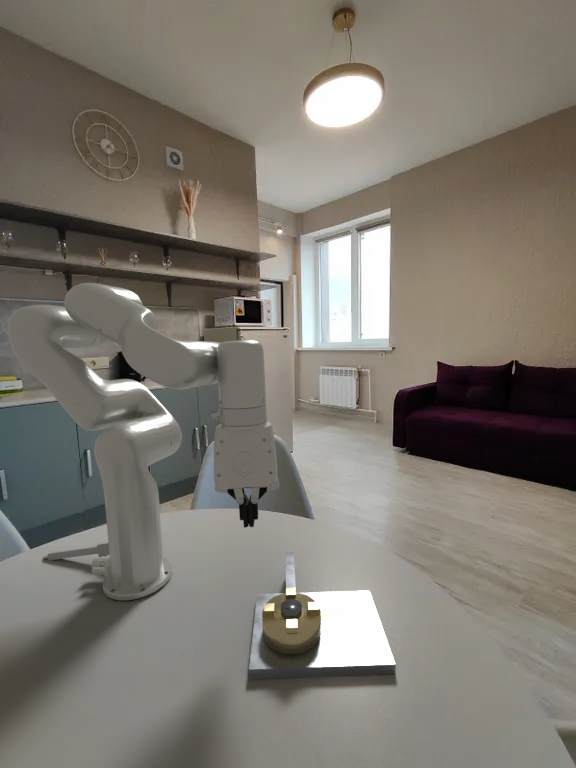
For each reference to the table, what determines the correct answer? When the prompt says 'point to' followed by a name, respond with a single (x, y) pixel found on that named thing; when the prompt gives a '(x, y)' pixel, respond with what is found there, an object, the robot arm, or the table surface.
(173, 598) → the table surface
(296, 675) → the base plate
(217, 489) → the robot arm
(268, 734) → the table surface
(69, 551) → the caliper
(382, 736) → the table surface
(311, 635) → the gold disc with handle
